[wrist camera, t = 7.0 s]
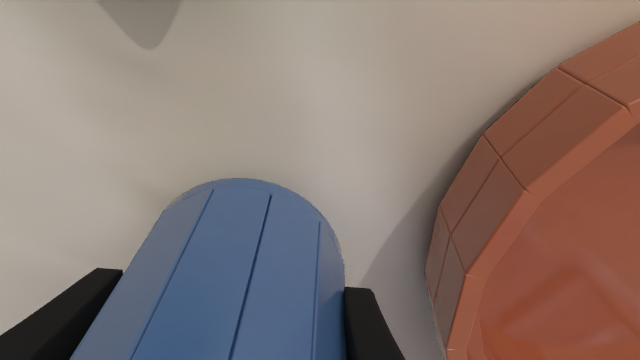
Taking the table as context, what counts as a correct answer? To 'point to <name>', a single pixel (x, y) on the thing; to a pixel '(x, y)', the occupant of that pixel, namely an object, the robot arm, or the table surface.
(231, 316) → the blue cup
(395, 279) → the table surface
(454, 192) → the bowl
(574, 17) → the table surface
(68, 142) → the table surface
